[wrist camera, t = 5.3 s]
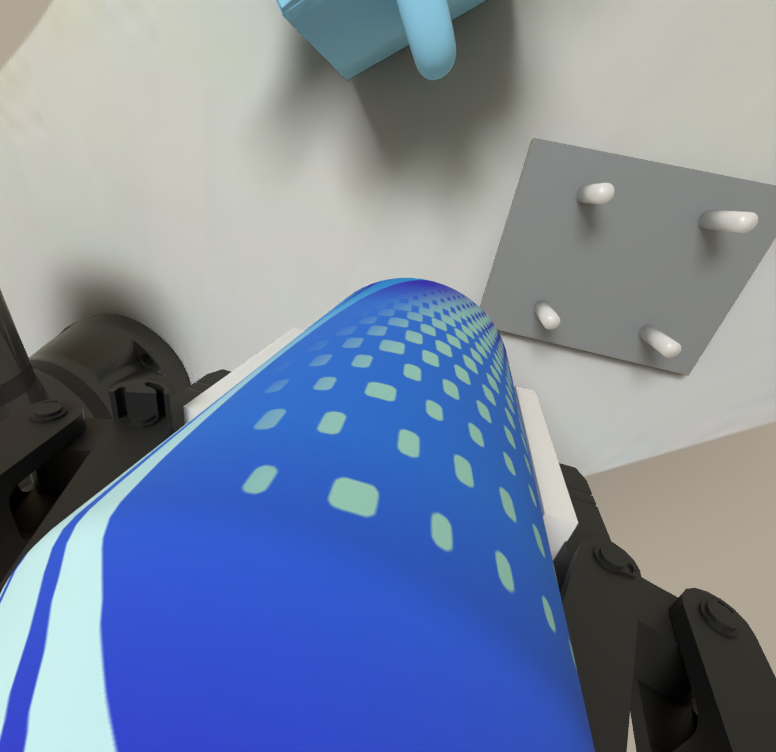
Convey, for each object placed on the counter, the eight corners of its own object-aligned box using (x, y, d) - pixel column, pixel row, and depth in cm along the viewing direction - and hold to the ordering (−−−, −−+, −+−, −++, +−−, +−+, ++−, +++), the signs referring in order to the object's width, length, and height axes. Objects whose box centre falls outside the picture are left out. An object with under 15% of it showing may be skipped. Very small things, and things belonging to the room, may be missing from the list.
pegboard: (475, 320, 34) (477, 340, 29) (531, 140, 27) (545, 128, 23) (681, 369, 32) (717, 398, 28) (790, 191, 26) (861, 190, 21)
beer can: (545, 376, 16) (1009, 1488, 2) (407, 465, 20) (251, 1110, 6) (418, 227, 15) (-611, 759, 1) (293, 353, 18) (-292, 854, 4)
